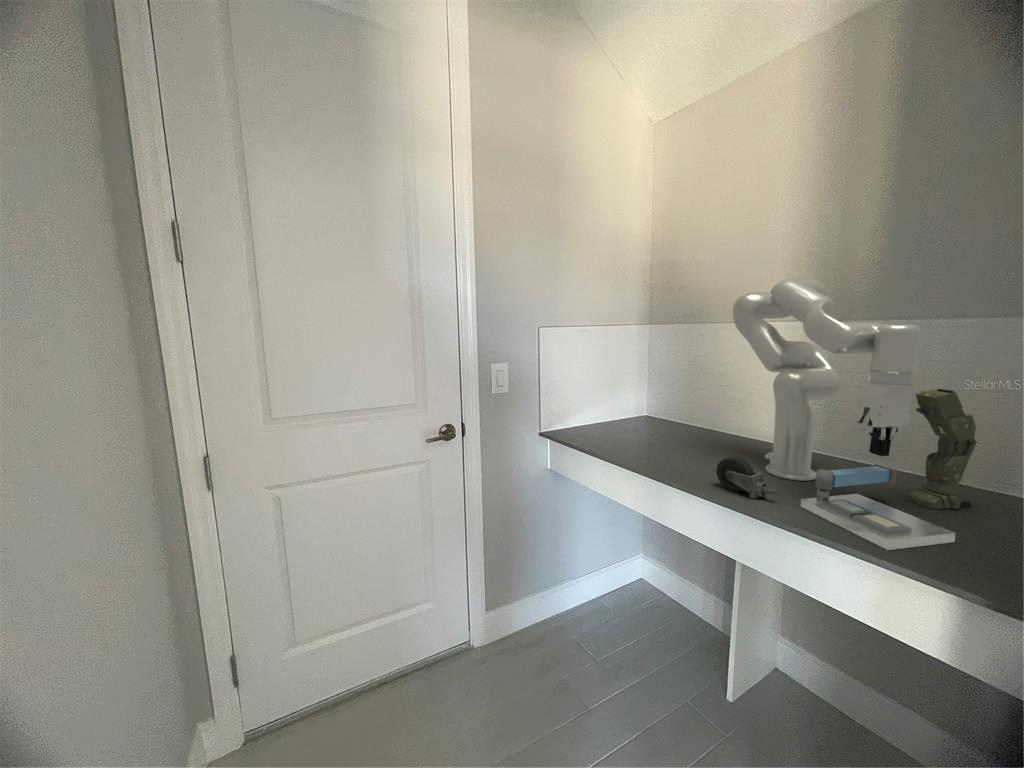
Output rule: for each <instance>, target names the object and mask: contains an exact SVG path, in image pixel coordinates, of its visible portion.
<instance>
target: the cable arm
mask: <svg viewBox="0 0 1024 768" xmlns="http://www.w3.org/2000/svg"><path fill="white" fill-rule="evenodd" d="M897 475H898V469H897V468H893V467H889V466H887V465H884V464H880V463H874V464H873V465H872V466H867V467H866V466H865V467H864V466H863V467H854V468H852V467H851V468H842V469H832V470H828V469H821V468H819V469H816V478H815V486H814V487H816V488H820V489H824V490H830V491H832V490H833V487H834V488H838V487H839V488H840V487H848V486H849V487H850V486H859V485H869V484H870V485H871V484H880V483H881V484H882V483H888V484H890V485H895V484H896V483H897Z"/></svg>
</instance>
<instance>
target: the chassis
mask: <svg viewBox="0 0 1024 768" xmlns="http://www.w3.org/2000/svg"><path fill="white" fill-rule="evenodd" d="M816 488H817V487H816ZM830 493H831V490H824V489H820V488H817V489H816V497H810V498H809V497H807V498H801V499H800V508H802V509H804V510H806V511H808V512H810V513H813V514H814V515H816V516H818V517H820V518H821V519H822V518H823V519H824V520H826V521H827V522H830V523H832V524H834V525H837V526H838V527H841V529H842V528H843V529H844V530H846V531H848V532H850V531H851V532H850V533H852V534H853V535H856V536H858V537H860V538H862V539H864V540H865V541H869V543H872V544H874V545H875V546H878V547H880V548H881V549H884V550H886V551H892V550H893V551H894V550H900V549H901V550H902V549H909V548H910V549H911V548H918V547H924V546H925V547H926V546H933V545H935V546H936V545H941V544H949V543H950V544H951V543H955V541H956V534H957V533H956V532H954V531H952V530H949V529H948V528H947V529H946V528H944V527H942V526H939V525H938V524H937V525H936V524H935V523H931V522H929V521H927V520H924V519H921V518H919V517H918V516H914V515H912V514H909V513H907V512H904V511H902V510H899V509H897V508H894V507H892V506H890V505H887V504H884V503H881V502H879V501H876V500H874V499H872V498H869V497H866V496H865V495H864V496H863V495H861V494H859V493H851V494H840V495H831V496H830Z"/></svg>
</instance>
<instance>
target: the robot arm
mask: <svg viewBox="0 0 1024 768" xmlns="http://www.w3.org/2000/svg"><path fill="white" fill-rule="evenodd" d="M833 311H834V301H833V300H832V299H831V298H830V297H828V296H827V289H826V286H825V284H824V283H822V282H821V281H820V280H816V279H812V278H811V279H809V278H802V279H800V278H797V279H796V278H793V279H792V278H791V279H784V280H781V281H779V282H777V283H776V284H774V286H772V288H771V289H770V292H768V291H767V292H764V291H763V292H762V291H761V292H750V293H746V294H743V295H741V296H739V297H738V298H737V299H736V300H735V301H734V304H733V307H732V320H733V323H734V326H735V327H736V329H737V331H738V332H739V333H740V334H741V336H743V338H744V339H745V340H746V341H747V343H748V344H749V345H750V347H751V348H752V350H753V352H754V353H755V355H756V357H757V358H758V359H759V361H760V362H761V364H762V365H763V366H764V367H765V369H767V370H768V371H769V372H772V373H778V374H777V375H775V377H774V379H773V382H772V388H773V396H774V402H775V403H774V404H775V406H774V407H775V408H774V409H775V414H774V428H773V429H774V430H773V431H774V432H773V443H772V445H773V447H772V451H770V452H768V453H767V454H765V455H764V458H765V459H767V460H768V461H769V463H768V464H766V465H765V471H766V472H767V473H768V474H770V475H772V476H775V477H778V478H782V479H785V480H792V481H800V482H802V481H803V482H804V481H806V482H807V481H808V482H809V481H812V480H816V473H817V471H815V470H813V469H811V466H812V453H813V441H814V433H815V432H814V431H815V430H814V429H815V427H814V426H815V414H814V411H813V408H812V406H811V403H810V402H813V401H815V402H816V401H826V400H831V399H833V398H835V397H837V396H838V395H839V394H840V392H841V390H842V380H841V377H840V375H839V374H838V371H836V369H835V368H834V367H833V366H832V365H831V363H830V362H829V360H828V359H827V358H826V357H825V356H824V354H823V353H822V351H820V349H819V348H818V347H817V346H819V347H821V348H822V349H824V350H825V351H828V352H830V353H832V354H836V355H853V354H859V355H861V354H865V355H866V354H871V359H870V364H869V371H868V377H867V379H868V380H867V383H865V384H864V386H863V389H862V391H861V394H860V397H859V401H858V405H857V409H856V413H855V422H856V423H858V424H861V427H860V431H862V432H867V433H868V436H869V437H870V443H869V453H870V454H873V455H876V456H879V457H889V455H890V450H891V443H892V440H894V439H895V437H896V436H895V435H896V433H897V432H899V431H903V430H904V429H905V427H906V426H907V425H908V424H910V422H911V417H912V411H913V404H914V403H913V402H914V401H913V398H914V397H913V396H914V394H913V392H914V391H913V383H914V377H915V371H916V365H917V357H918V352H919V346H920V338H921V334H922V333H921V331H922V330H921V328H920V327H919V326H918V325H914V324H900V323H899V324H893V323H892V324H887V323H886V324H885V323H879V322H845V323H843V322H841V321H839V320H837V319H835V318H834V317H832V316H831V314H832V312H833ZM789 317H793V318H795V319H796V320H798V321H799V322H801V323H802V329H803V331H804V333H805V335H806V337H807V338H808V339H809V340H810V341H812V342H813V343H815V344H816V345H817V346H815V345H814V344H812V343H810V342H808V341H803V340H802V341H800V340H796V341H793V340H792V341H790V340H786V339H785V338H784V337H783V336H782V335H781V334H780V332H779V331H778V329H777V328H775V327H774V326H773V325H772V324H771V323H769V322H768V321H765V320H767V319H768V320H769V319H772V320H773V319H775V320H777V319H784V318H789Z"/></svg>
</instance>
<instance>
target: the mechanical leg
mask: <svg viewBox="0 0 1024 768" xmlns="http://www.w3.org/2000/svg"><path fill="white" fill-rule="evenodd" d="M915 397H916V400H917V401H916V402H917V405H918V406H919V407H917V408H915V411H916V412H917V413H918V414H919V413H920V414H921V415H923V417H924V418H925V419H926V420H927V422H928V424H929V425H930V427H931V430H932V431H933V433H934V434H935V435H936V436H937V437H938V440H937V451H935V452H930V453H929V454H928V455H927V456H926V459H925V468H924V469H925V479H924V481H923V482H922V483H921V486H918V487H917V488H916V490H914V491H911V492H909V493H908V501H910V502H913V503H915V504H918V505H920V506H922V507H924V508H925V507H926V508H927V509H930V510H941V509H943V510H944V509H945V510H946V509H947V510H949V509H953V510H959V508H960V509H968V508H967V507H969V508H972V505H971V502H970V501H967V500H964V499H962V498H959V497H958V496H957V495H958V485H959V483H960V482H961V480H962V478H963V475H964V473H965V470H966V468H967V466H968V463H969V461H970V458H971V456H972V454H973V452H974V450H975V447H976V444H977V439H975V435H976V430H977V425H976V423H975V419H974V417H973V415H972V414H969V413H966V412H964V410H963V408H964V407H963V406H962V403H961V400H960V398H959V395H958V393H957V391H954V390H953V389H947V388H938V387H937V388H936V389H930V390H925V391H924V390H923V391H921V392H919V393H915Z"/></svg>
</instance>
